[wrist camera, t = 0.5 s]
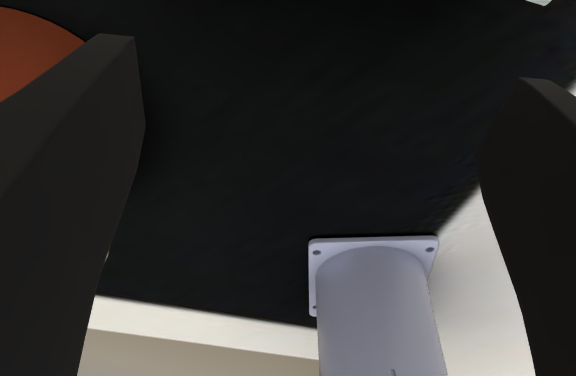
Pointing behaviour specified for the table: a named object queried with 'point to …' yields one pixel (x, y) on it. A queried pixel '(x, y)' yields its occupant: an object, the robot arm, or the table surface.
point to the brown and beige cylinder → (29, 49)
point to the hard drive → (540, 2)
